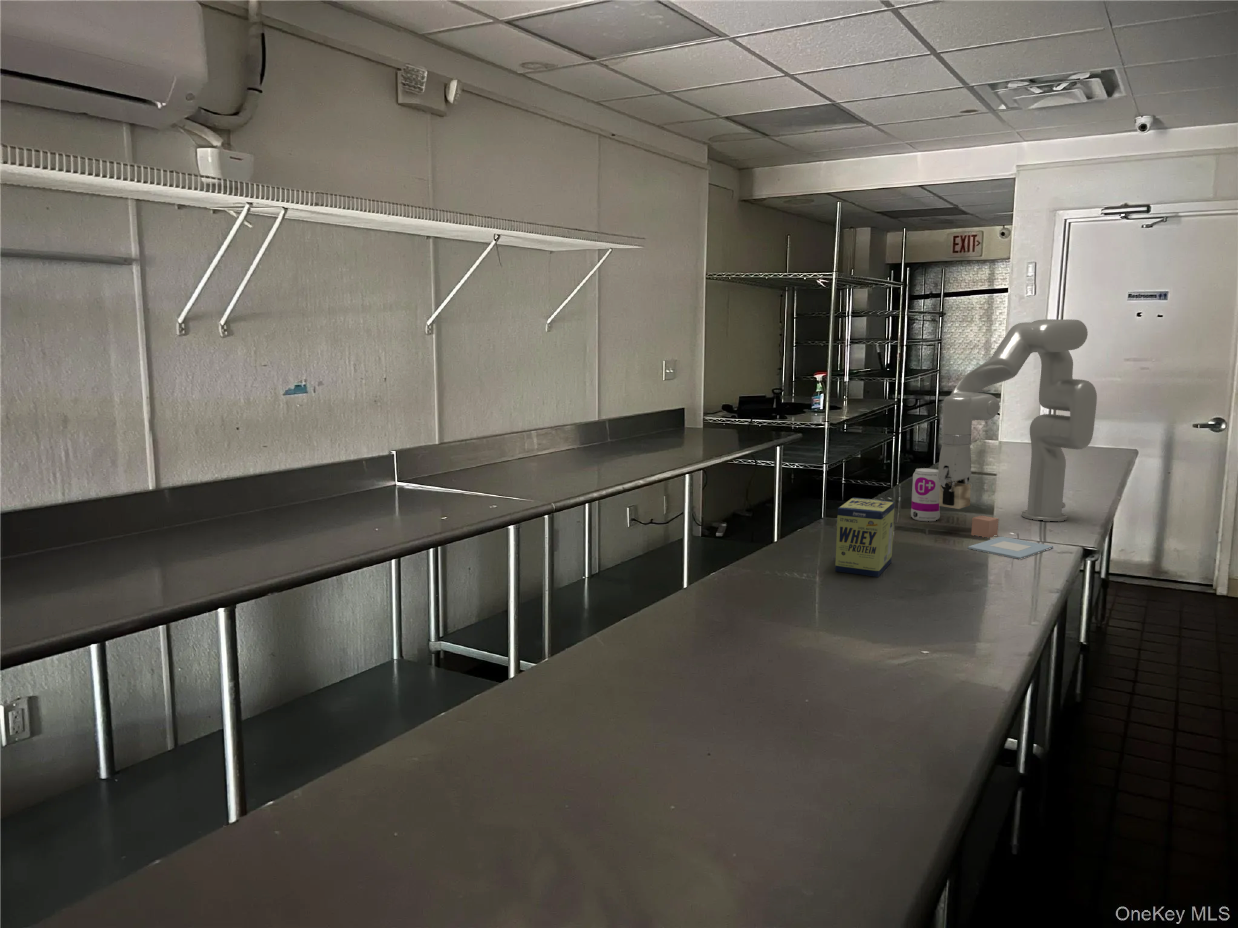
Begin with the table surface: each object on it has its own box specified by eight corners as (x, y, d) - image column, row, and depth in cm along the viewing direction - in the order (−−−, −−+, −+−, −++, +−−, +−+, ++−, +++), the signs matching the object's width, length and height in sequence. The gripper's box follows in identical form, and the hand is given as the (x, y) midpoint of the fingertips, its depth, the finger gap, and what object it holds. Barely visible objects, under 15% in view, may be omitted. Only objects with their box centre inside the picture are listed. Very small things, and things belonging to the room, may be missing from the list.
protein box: (834, 571, 210) (837, 507, 208) (849, 556, 224) (852, 496, 221) (879, 577, 205) (882, 512, 203) (892, 562, 219) (895, 500, 217)
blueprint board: (1001, 538, 244) (1001, 535, 243) (1053, 548, 233) (1053, 545, 233) (967, 548, 232) (967, 546, 232) (1020, 559, 222) (1020, 556, 221)
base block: (950, 502, 254) (950, 481, 253) (969, 505, 250) (970, 484, 249) (939, 505, 251) (939, 485, 250) (958, 508, 246) (959, 487, 245)
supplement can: (934, 523, 262) (937, 473, 260) (906, 519, 267) (909, 470, 265) (943, 518, 269) (946, 469, 266) (915, 514, 273) (918, 467, 271)
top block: (980, 532, 251) (981, 515, 250) (997, 535, 247) (998, 518, 246) (971, 535, 248) (972, 517, 247) (988, 538, 244) (989, 520, 243)
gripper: (960, 435, 255) (958, 496, 258) (927, 442, 244) (925, 506, 247) (985, 437, 249) (982, 499, 253) (952, 445, 239) (950, 510, 242)
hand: (954, 502), depth 250 cm, fingers closed on base block, 6 cm apart
